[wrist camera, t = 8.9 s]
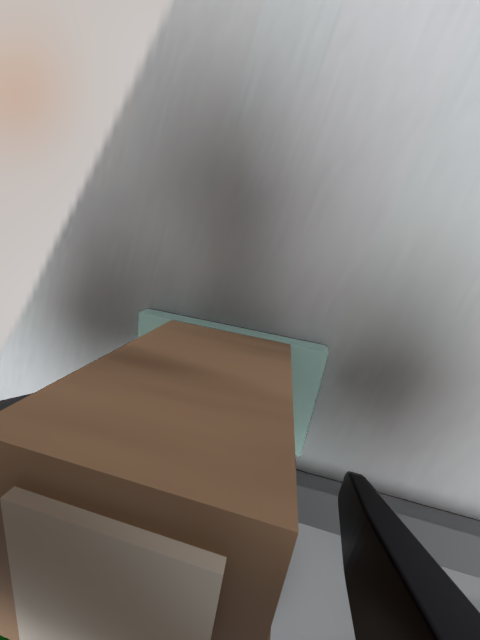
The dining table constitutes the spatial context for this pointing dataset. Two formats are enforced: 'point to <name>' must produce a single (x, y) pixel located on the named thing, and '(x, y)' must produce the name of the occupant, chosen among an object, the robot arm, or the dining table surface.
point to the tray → (327, 562)
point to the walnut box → (151, 493)
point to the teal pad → (304, 364)
